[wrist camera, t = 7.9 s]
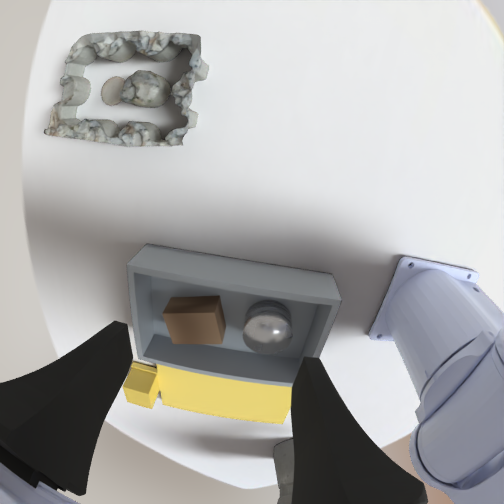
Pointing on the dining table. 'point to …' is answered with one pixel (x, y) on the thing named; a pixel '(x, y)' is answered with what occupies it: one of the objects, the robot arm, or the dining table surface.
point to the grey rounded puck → (267, 327)
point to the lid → (207, 394)
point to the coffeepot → (284, 469)
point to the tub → (228, 312)
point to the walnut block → (195, 320)
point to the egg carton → (127, 87)
